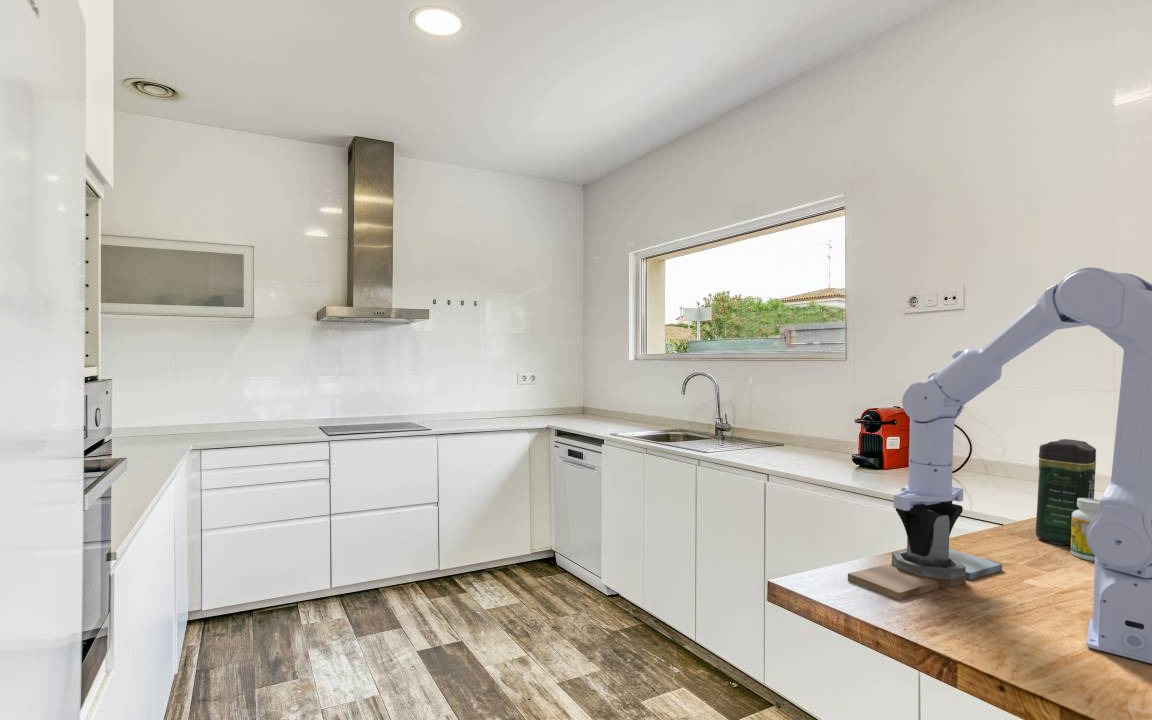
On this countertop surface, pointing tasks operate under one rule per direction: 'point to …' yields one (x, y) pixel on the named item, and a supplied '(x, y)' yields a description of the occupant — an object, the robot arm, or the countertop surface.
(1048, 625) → the countertop surface
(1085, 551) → the supplement bottle
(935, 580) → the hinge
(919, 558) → the grey metal brick
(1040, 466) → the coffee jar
